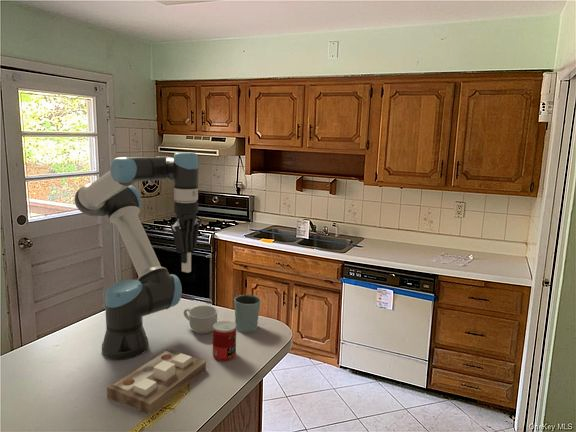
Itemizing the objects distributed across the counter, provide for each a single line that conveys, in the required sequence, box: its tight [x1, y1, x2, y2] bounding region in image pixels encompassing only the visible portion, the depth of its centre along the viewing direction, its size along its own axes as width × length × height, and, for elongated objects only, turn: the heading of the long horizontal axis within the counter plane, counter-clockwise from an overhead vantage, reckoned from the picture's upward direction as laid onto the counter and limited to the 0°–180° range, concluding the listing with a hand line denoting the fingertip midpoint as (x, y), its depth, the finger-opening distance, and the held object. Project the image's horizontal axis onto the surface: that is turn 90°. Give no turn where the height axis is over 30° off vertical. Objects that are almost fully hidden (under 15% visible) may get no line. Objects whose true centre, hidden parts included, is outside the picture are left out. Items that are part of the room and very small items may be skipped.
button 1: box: [133, 378, 157, 396], centre depth 121 cm, size 4×4×4 cm
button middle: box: [153, 360, 175, 382], centre depth 128 cm, size 4×4×4 cm
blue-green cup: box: [233, 294, 261, 334], centre depth 167 cm, size 10×10×12 cm
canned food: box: [212, 320, 237, 362], centre depth 145 cm, size 8×8×11 cm
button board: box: [106, 348, 207, 415], centre depth 129 cm, size 16×25×3 cm, turn 155°
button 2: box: [172, 352, 193, 369], centre depth 135 cm, size 4×4×4 cm
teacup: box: [183, 304, 218, 335], centre depth 164 cm, size 14×11×8 cm
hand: (186, 271), depth 141 cm, fingers closed
